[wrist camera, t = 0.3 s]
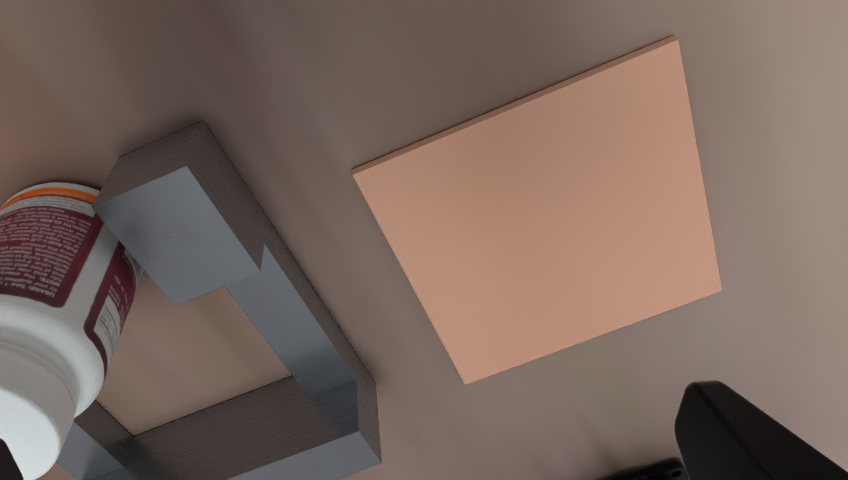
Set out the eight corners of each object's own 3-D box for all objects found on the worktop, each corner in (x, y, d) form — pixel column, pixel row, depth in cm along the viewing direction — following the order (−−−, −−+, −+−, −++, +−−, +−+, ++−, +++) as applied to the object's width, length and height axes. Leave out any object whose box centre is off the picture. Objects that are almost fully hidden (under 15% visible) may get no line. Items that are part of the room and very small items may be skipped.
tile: (717, 284, 27) (722, 290, 27) (463, 378, 29) (465, 384, 28) (672, 35, 21) (678, 39, 21) (352, 169, 22) (352, 175, 22)
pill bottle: (-34, 234, 22) (-199, 440, 15) (61, 150, 21) (-70, 332, 14) (88, 316, 25) (-6, 526, 18) (180, 245, 23) (118, 440, 16)
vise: (415, 443, 31) (425, 524, 27) (178, 528, 32) (161, 614, 29) (203, 120, 21) (179, 183, 18) (-123, 263, 22) (-201, 347, 19)
